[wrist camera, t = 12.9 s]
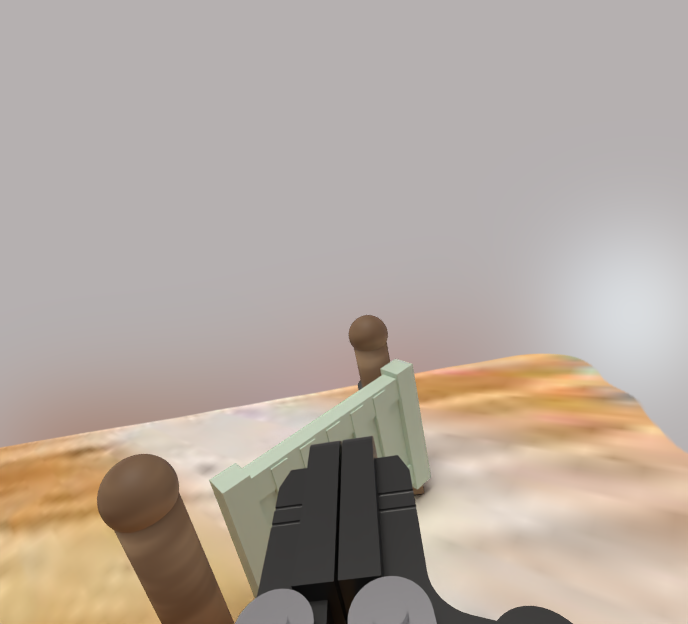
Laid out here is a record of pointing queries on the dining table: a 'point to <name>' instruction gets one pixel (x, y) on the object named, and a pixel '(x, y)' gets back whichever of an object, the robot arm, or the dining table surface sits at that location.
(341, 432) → the gate
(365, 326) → the post
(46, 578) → the dining table surface
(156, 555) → the hinge post
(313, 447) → the robot arm
